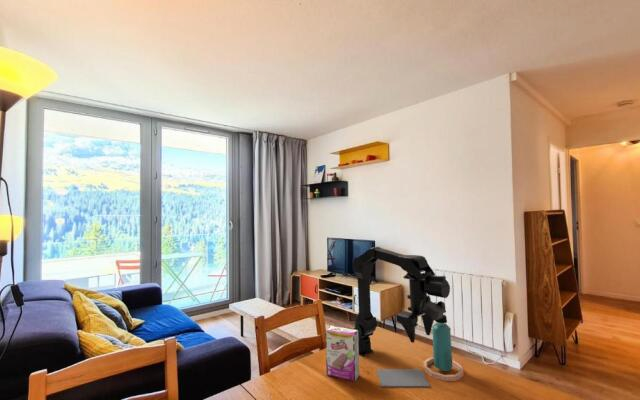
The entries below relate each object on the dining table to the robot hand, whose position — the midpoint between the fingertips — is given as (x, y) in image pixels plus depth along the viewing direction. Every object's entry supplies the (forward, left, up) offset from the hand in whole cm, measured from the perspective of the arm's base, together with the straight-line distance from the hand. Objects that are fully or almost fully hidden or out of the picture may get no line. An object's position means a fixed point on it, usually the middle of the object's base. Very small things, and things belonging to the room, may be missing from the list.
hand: (420, 338), depth 104 cm
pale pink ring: (+1, +11, -14) cm, 18 cm away
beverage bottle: (+1, +11, -15) cm, 18 cm away
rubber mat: (-5, -4, -14) cm, 16 cm away
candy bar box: (-20, -19, -15) cm, 31 cm away
